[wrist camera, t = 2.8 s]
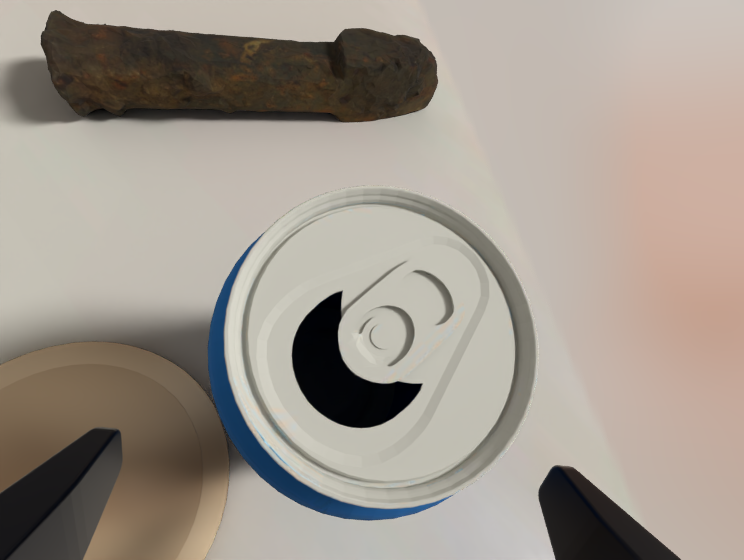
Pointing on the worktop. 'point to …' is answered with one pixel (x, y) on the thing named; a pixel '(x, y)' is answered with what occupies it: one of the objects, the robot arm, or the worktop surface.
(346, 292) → the beverage can
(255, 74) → the hand tool
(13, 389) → the coaster
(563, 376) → the worktop surface
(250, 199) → the worktop surface
